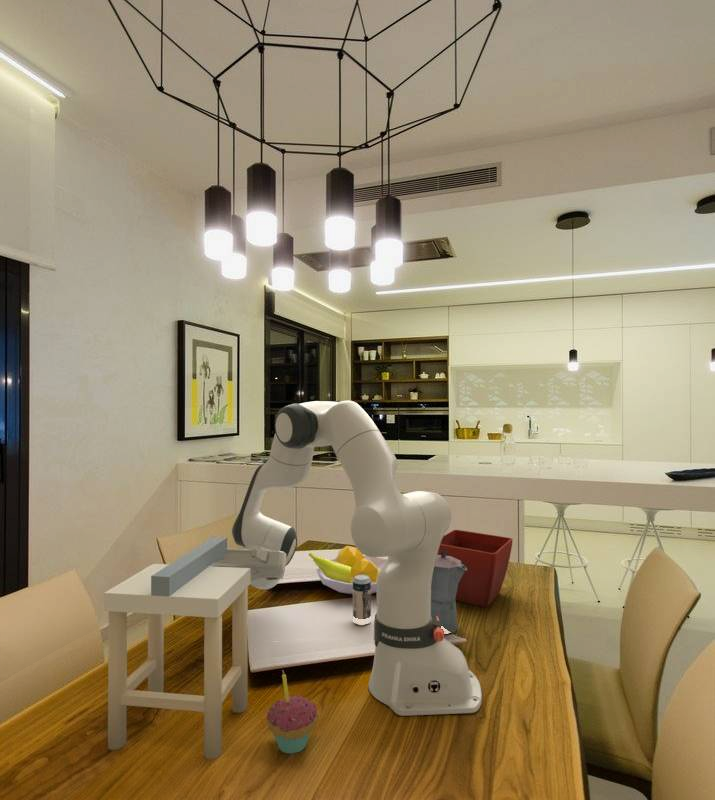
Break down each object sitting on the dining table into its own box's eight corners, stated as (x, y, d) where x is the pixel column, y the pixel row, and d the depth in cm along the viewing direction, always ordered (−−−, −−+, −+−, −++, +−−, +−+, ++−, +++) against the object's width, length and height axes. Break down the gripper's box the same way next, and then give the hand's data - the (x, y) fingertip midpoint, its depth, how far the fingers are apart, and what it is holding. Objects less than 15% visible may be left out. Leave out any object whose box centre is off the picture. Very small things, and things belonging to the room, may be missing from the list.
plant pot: (513, 592, 149) (513, 537, 149) (495, 615, 133) (495, 553, 133) (454, 580, 159) (454, 528, 159) (430, 600, 143) (430, 542, 143)
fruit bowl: (405, 575, 164) (405, 541, 164) (392, 608, 137) (392, 568, 137) (325, 569, 170) (325, 536, 170) (299, 599, 144) (299, 561, 144)
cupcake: (257, 753, 80) (257, 680, 80) (283, 722, 88) (284, 655, 88) (303, 768, 77) (303, 691, 77) (326, 734, 85) (326, 665, 85)
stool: (250, 704, 93) (250, 568, 94) (217, 760, 78) (218, 599, 79) (152, 695, 96) (153, 563, 96) (103, 749, 81) (104, 592, 81)
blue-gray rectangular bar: (227, 552, 104) (227, 537, 104) (169, 596, 80) (169, 576, 80) (212, 551, 104) (213, 536, 104) (151, 595, 80) (151, 576, 80)
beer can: (369, 627, 125) (369, 580, 126) (351, 625, 126) (351, 579, 127) (372, 619, 130) (372, 574, 130) (354, 617, 131) (354, 573, 131)
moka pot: (460, 642, 118) (460, 559, 118) (403, 627, 126) (403, 549, 126) (473, 627, 126) (473, 549, 126) (419, 613, 134) (419, 540, 134)
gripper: (216, 549, 127) (195, 535, 115) (292, 553, 124) (279, 539, 113) (210, 574, 124) (188, 562, 112) (288, 579, 121) (274, 568, 109)
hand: (234, 551), depth 112 cm, fingers open, 8 cm apart
